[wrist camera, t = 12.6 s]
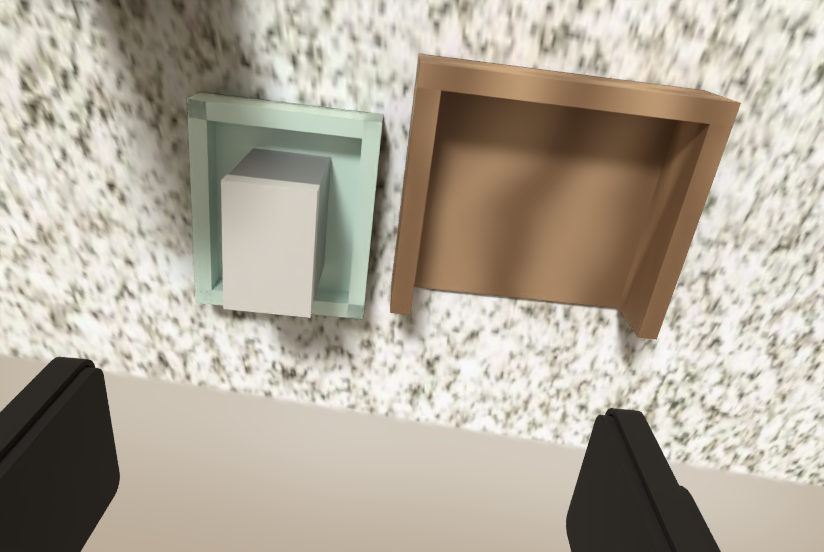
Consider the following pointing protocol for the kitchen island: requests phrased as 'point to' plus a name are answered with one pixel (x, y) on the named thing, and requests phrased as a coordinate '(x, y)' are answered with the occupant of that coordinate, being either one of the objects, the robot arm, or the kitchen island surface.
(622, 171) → the bay
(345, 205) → the tray
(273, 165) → the off-white upright block
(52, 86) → the kitchen island surface
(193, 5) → the kitchen island surface
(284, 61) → the kitchen island surface
